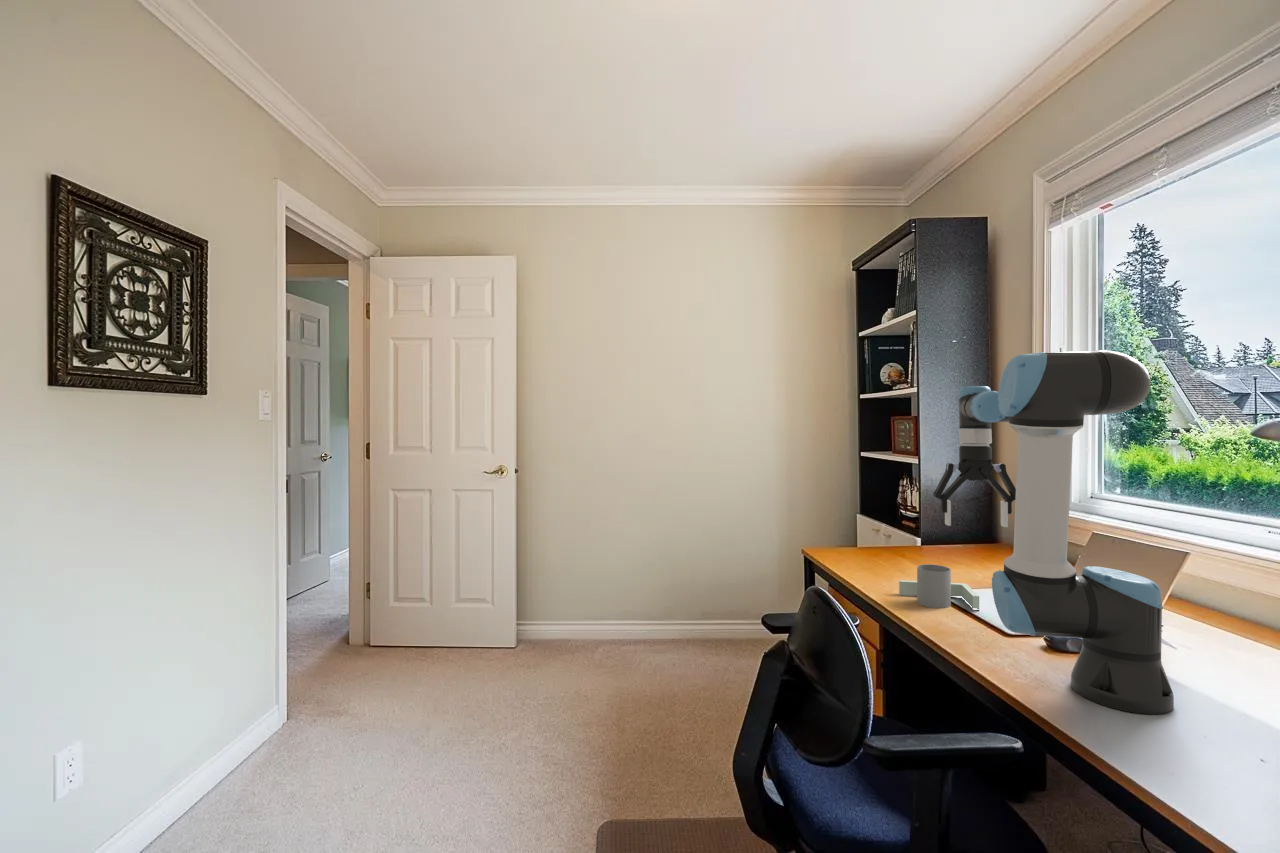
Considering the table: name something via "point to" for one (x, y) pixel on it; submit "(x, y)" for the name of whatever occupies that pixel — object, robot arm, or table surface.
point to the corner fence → (956, 590)
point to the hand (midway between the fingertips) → (975, 525)
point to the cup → (934, 586)
